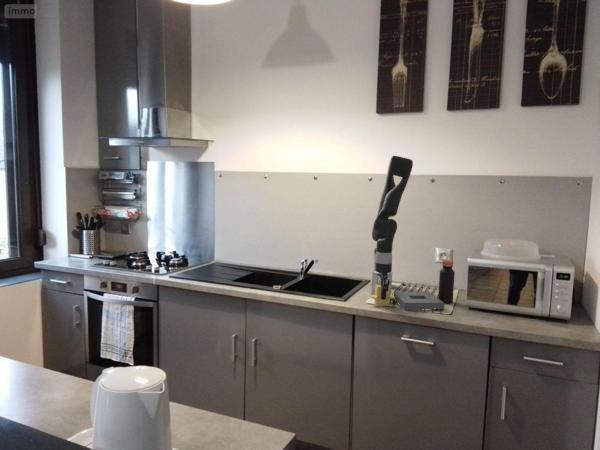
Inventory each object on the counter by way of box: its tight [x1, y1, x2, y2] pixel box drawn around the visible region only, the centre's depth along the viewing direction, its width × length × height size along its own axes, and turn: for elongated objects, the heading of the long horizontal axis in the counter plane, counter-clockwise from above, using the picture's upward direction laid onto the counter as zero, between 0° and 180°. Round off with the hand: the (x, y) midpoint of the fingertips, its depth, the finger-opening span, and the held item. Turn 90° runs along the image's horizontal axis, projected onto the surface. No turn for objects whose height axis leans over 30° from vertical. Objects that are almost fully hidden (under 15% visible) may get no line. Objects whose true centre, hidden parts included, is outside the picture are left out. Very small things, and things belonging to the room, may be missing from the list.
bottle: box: [437, 259, 456, 305], centre depth 224 cm, size 7×7×20 cm
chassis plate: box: [392, 291, 445, 311], centre depth 219 cm, size 18×18×4 cm
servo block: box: [369, 285, 395, 307], centre depth 218 cm, size 4×11×10 cm, turn 94°
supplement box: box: [370, 271, 393, 295], centre depth 231 cm, size 7×7×13 cm
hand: (382, 297), depth 218 cm, fingers closed on servo block, 4 cm apart
